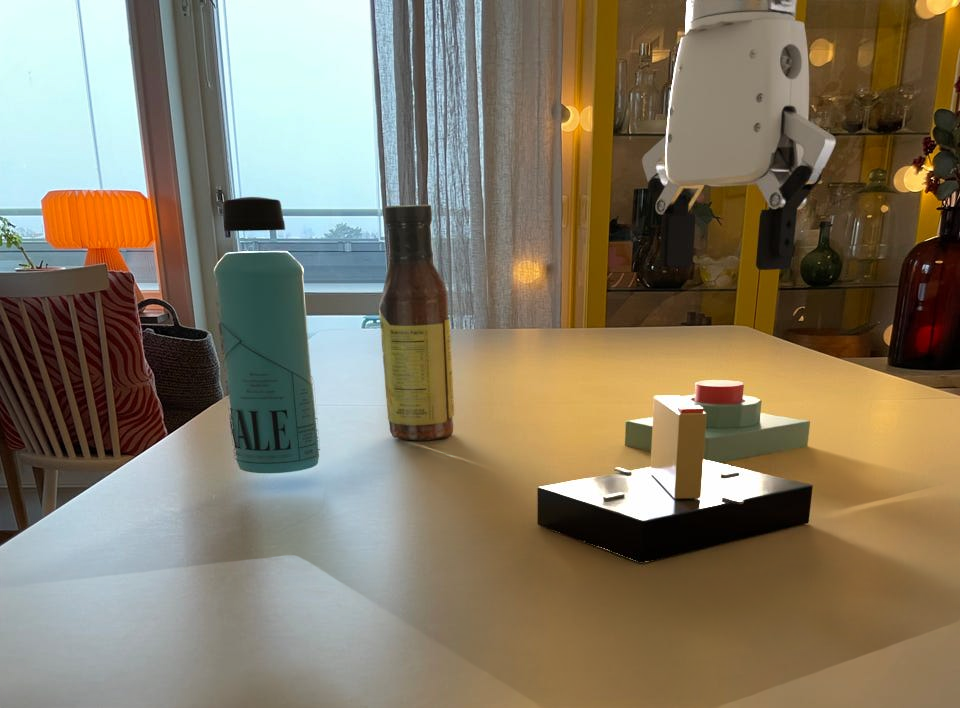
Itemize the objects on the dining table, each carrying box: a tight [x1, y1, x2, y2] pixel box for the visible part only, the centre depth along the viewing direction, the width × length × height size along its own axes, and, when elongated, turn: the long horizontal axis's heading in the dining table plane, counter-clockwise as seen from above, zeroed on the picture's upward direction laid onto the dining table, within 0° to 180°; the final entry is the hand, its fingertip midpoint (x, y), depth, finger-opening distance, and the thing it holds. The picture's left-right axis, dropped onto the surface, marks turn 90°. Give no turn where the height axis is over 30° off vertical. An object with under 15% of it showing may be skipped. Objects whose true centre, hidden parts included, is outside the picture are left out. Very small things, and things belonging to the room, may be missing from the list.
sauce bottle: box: [378, 204, 456, 442], centre depth 87 cm, size 7×6×20 cm
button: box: [694, 379, 745, 404], centre depth 82 cm, size 4×4×2 cm
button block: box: [624, 394, 811, 463], centre depth 83 cm, size 12×10×4 cm
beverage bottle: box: [213, 196, 321, 474], centre depth 70 cm, size 6×7×20 cm
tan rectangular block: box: [650, 394, 707, 499], centre depth 60 cm, size 7×2×5 cm, turn 3°
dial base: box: [536, 460, 814, 563], centre depth 61 cm, size 14×11×3 cm
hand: (722, 268), depth 75 cm, fingers open, 9 cm apart
